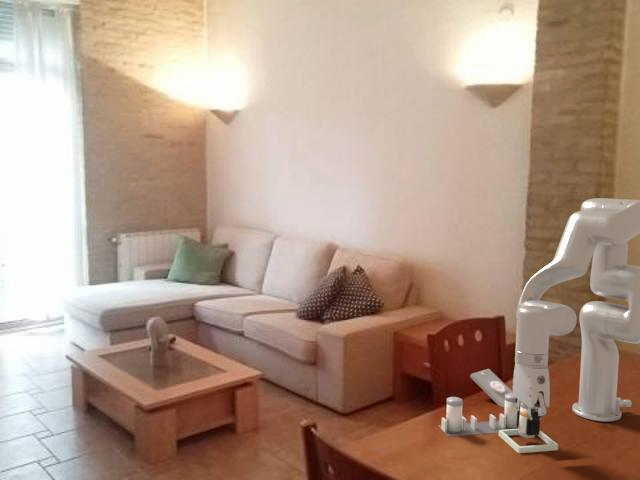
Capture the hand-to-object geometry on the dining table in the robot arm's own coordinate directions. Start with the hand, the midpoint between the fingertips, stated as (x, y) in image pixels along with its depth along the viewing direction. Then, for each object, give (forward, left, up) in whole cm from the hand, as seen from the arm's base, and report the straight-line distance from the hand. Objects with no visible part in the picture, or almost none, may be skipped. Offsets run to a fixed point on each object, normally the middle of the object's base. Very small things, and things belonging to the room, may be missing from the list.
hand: (527, 429), depth 154 cm
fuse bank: (+7, -10, -4) cm, 13 cm away
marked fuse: (0, 0, -1) cm, 1 cm away
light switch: (-6, -29, -5) cm, 30 cm away
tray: (0, 0, -4) cm, 4 cm away
